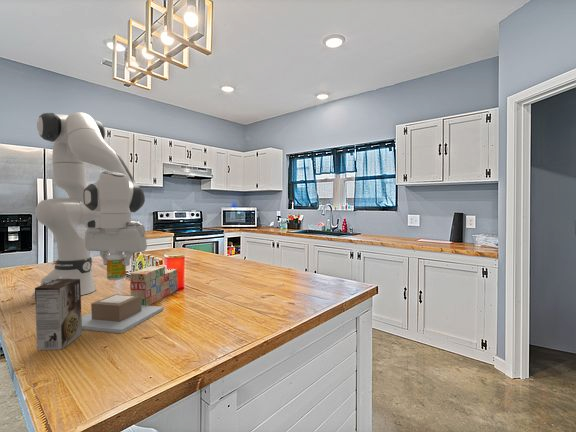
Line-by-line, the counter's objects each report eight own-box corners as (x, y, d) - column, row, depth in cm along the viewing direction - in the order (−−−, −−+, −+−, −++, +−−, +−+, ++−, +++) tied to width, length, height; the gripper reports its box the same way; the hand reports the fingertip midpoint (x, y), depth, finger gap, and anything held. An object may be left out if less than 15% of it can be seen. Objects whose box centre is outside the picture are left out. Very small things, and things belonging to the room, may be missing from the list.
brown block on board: (63, 327, 93) (63, 306, 93) (114, 305, 112) (113, 288, 112) (122, 333, 89) (121, 311, 89) (163, 309, 108) (163, 292, 108)
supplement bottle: (110, 281, 96) (109, 250, 96) (104, 278, 100) (103, 248, 99) (129, 278, 100) (128, 248, 100) (122, 275, 104) (121, 246, 103)
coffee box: (58, 335, 87) (57, 278, 87) (82, 334, 88) (81, 278, 87) (35, 350, 78) (33, 287, 78) (62, 349, 79) (60, 286, 78)
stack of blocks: (164, 290, 133) (164, 261, 133) (177, 290, 132) (177, 262, 132) (130, 306, 112) (129, 272, 112) (146, 307, 111) (145, 273, 111)
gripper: (150, 222, 100) (151, 264, 101) (96, 221, 104) (97, 262, 105) (137, 223, 94) (138, 268, 95) (80, 222, 98) (81, 266, 99)
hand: (116, 265), depth 100 cm, fingers closed on supplement bottle, 5 cm apart
